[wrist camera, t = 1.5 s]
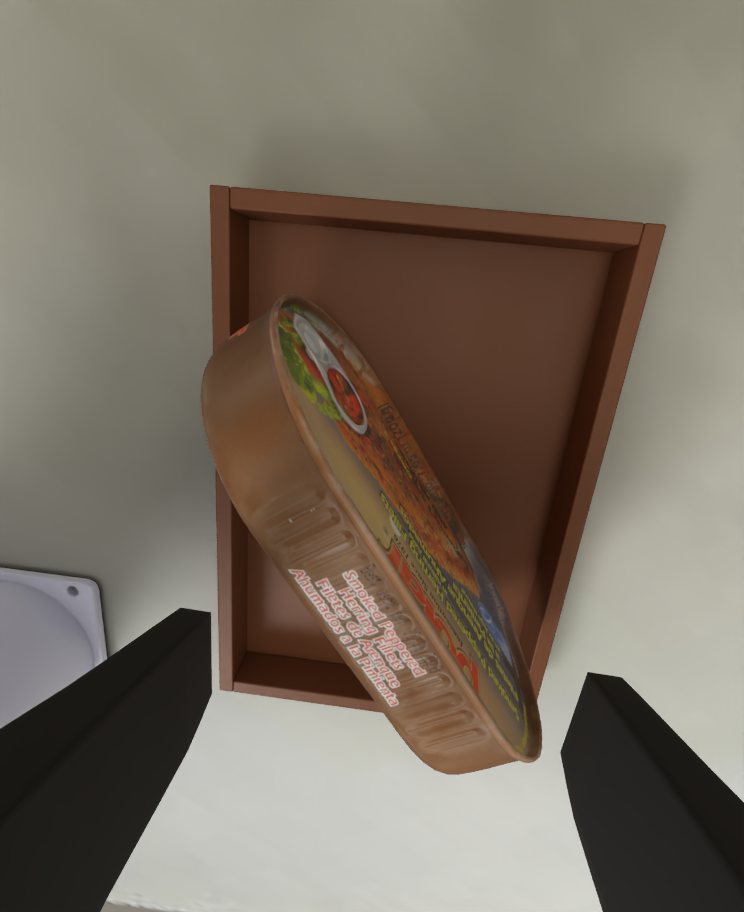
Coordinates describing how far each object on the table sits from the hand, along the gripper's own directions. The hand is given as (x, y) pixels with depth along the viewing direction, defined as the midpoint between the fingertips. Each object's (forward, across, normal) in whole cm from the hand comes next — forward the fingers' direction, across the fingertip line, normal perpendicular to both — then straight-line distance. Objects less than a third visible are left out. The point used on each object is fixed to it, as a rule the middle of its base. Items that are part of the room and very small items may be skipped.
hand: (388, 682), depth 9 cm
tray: (+10, 0, 0) cm, 10 cm away
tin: (+10, 0, 0) cm, 10 cm away
